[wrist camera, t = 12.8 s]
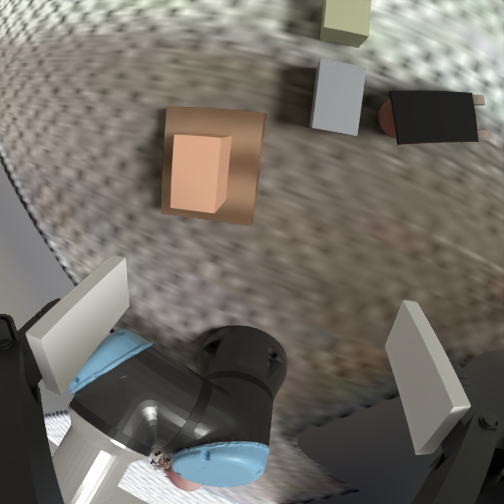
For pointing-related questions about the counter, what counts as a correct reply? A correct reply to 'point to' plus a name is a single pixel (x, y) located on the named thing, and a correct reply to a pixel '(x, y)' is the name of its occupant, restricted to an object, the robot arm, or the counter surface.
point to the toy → (173, 473)
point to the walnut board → (240, 163)
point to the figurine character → (431, 117)
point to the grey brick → (337, 97)
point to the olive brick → (345, 21)
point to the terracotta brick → (200, 171)
